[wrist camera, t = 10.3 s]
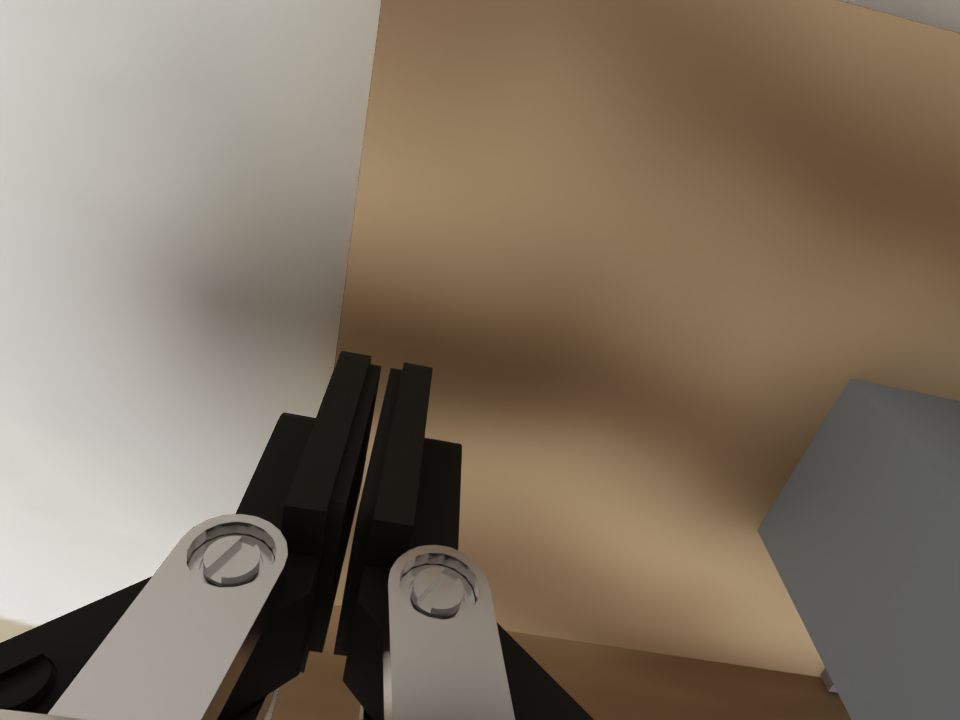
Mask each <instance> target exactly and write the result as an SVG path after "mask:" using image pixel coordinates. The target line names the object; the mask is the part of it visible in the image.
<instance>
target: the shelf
mask: <svg viewBox="0 0 960 720" xmlns="http://www.w3.org/2000/svg"><path fill="white" fill-rule="evenodd" d="M341 351H347V352H352V353H358V354H363V355H368V356H371V364H374V365H379V366H381V373H380V379H379V385H378V391H377V397H376V403H375V408H374V414H373V420H372V426H371V432H370V438H369V444H368V450H367V456H366V461H365V467H364V473H363V479H362V484H361V489H360V494H359V498H358V503H357V507H356V511H355V516H354V520H353V524H352V528H351V533H350V537H349V541H348V546H347V550H346V554H345V559H344V563H343V567H342V571H341V576H340V580H339V584H338V589H337V593H336V597H335V601H334V606H333V610H332V614H331V619H330V623H329V627H328V632H327V636H326V640H325V644H324V648H323V652H322V653H320V652H312V651H309V655H308V659H307V663H306V667H305V671H304V673H301V672H300V674H299V675H298V676H296V677H295V678H293V679H292V680H290V681H289V682H287V683H285V684H284V685H282V686H281V687H280V688H279V691H278V695H277V698H276V702H275V706H274V709H273V713H272V716H271V720H359V713H360V707H361V704H360V703H359V702H358V700H357V699H356V698H355V696H354V695H353V694H352V692H351V691H350V690H349V689H348V687H347V686H346V685H345V683H344V682H343V681H342V679H343V674H344V669H345V664H346V658H347V656H342V655H334V647H335V642H336V636H337V630H338V624H339V618H340V612H341V606H342V600H343V595H344V589H345V583H346V577H347V571H348V565H349V559H350V554H351V548H352V542H353V536H354V530H355V525H356V520H357V515H358V510H359V505H360V500H361V496H362V492H363V487H364V483H365V479H366V474H367V470H368V465H369V461H370V457H371V452H372V448H373V443H374V439H375V435H376V430H377V426H378V422H379V417H380V413H381V408H382V404H383V400H384V395H385V391H386V386H387V382H388V378H389V373H390V369H391V368H395V369H400V370H402V369H403V364H404V362H405V363H411V364H416V365H421V366H427V367H432V368H433V371H432V379H431V388H430V396H429V404H428V412H427V421H426V429H425V438H430V439H436V440H442V441H447V442H453V443H459V444H461V445H462V465H461V491H460V518H459V544H458V551H460V552H463V553H465V554H466V555H467V556H469V557H470V558H471V559H473V560H474V561H475V562H476V563H477V564H478V565H479V566H480V568H481V569H482V570H483V572H484V573H485V575H486V578H487V581H488V583H489V586H490V591H491V596H492V602H493V607H494V612H495V617H496V622H497V623H498V624H499V625H500V626H501V627H502V628H503V629H504V630H505V631H506V632H507V633H508V634H509V635H510V636H511V637H512V638H513V639H514V640H515V641H516V642H517V643H518V644H519V645H520V646H521V647H522V648H523V649H524V650H525V651H526V652H527V653H528V654H529V655H530V656H531V657H532V658H533V659H534V660H535V661H536V662H537V663H538V664H539V665H540V666H541V667H542V668H543V669H544V670H545V671H546V672H547V673H548V674H549V675H550V676H551V677H552V678H553V679H554V680H555V681H556V682H557V683H558V684H559V685H560V686H561V687H562V688H563V689H564V690H565V691H566V692H567V693H568V694H569V695H570V696H571V697H572V698H573V699H574V700H575V701H576V702H577V703H578V704H579V705H580V706H581V707H582V708H583V709H584V710H585V711H586V712H587V713H588V714H589V715H590V716H591V717H592V718H593V719H594V720H851V718H850V716H849V714H848V712H847V710H846V708H845V706H844V704H843V702H842V700H841V698H840V696H839V694H838V692H837V690H836V688H835V686H834V684H833V682H832V680H831V678H830V676H829V674H828V672H827V670H826V668H825V666H824V664H823V662H822V660H821V658H820V656H819V654H818V652H817V650H816V648H815V646H814V644H813V642H812V640H811V638H810V636H809V634H808V632H807V630H806V628H805V626H804V624H803V622H802V620H801V618H800V616H799V614H798V612H797V610H796V608H795V605H794V603H793V601H792V599H791V597H790V595H789V593H788V591H787V589H786V587H785V585H784V583H783V581H782V579H781V577H780V575H779V573H778V571H777V569H776V567H775V565H774V563H773V561H772V559H771V557H770V555H769V553H768V551H767V549H766V547H765V545H764V543H763V541H762V539H761V537H760V535H759V533H758V531H757V530H758V529H759V527H760V525H761V524H762V522H763V520H764V519H765V517H766V516H767V514H768V512H769V511H770V509H771V507H772V506H773V504H774V502H775V501H776V499H777V498H778V496H779V494H780V493H781V491H782V489H783V488H784V486H785V484H786V483H787V481H788V479H789V478H790V476H791V475H792V473H793V471H794V470H795V468H796V466H797V465H798V463H799V461H800V460H801V458H802V457H803V455H804V453H805V452H806V450H807V448H808V447H809V445H810V443H811V442H812V440H813V439H814V437H815V435H816V434H817V432H818V430H819V429H820V427H821V425H822V424H823V422H824V420H825V419H826V417H827V416H828V414H829V412H830V411H831V409H832V407H833V406H834V404H835V402H836V401H837V399H838V398H839V396H840V394H841V393H842V391H843V389H844V388H845V386H846V384H847V383H848V381H849V379H850V378H851V379H856V380H860V381H865V382H870V383H875V384H880V385H885V386H889V387H894V388H899V389H904V390H909V391H914V392H918V393H923V394H928V395H933V396H938V397H943V398H947V399H952V400H957V401H960V33H956V32H953V31H949V30H945V29H942V28H938V27H934V26H931V25H927V24H923V23H920V22H916V21H912V20H909V19H905V18H901V17H898V16H894V15H890V14H887V13H883V12H879V11H876V10H872V9H868V8H865V7H861V6H857V5H854V4H850V3H846V2H843V1H839V0H382V1H381V9H380V16H379V24H378V32H377V40H376V47H375V55H374V63H373V71H372V78H371V86H370V94H369V102H368V110H367V117H366V125H365V133H364V141H363V148H362V156H361V164H360V172H359V179H358V187H357V195H356V203H355V210H354V218H353V226H352V234H351V241H350V249H349V257H348V265H347V272H346V280H345V288H344V296H343V304H342V311H341V319H340V327H339V335H338V342H337V350H336V358H335V366H336V363H337V360H338V358H339V355H340V353H341ZM335 366H334V369H335Z"/></svg>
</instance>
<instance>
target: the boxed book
mask: <svg viewBox="0 0 960 720" xmlns="http://www.w3.org/2000/svg"><path fill="white" fill-rule="evenodd" d="M757 531H758V533H759V535H760V537H761V539H762V541H763V543H764V545H765V547H766V549H767V551H768V553H769V555H770V557H771V559H772V561H773V563H774V565H775V567H776V569H777V571H778V573H779V575H780V577H781V579H782V581H783V583H784V585H785V587H786V589H787V591H788V593H789V595H790V597H791V599H792V601H793V603H794V605H795V608H796V610H797V612H798V614H799V616H800V618H801V620H802V622H803V624H804V626H805V628H806V630H807V632H808V634H809V636H810V638H811V640H812V642H813V644H814V646H815V648H816V650H817V652H818V654H819V656H820V658H821V660H822V662H823V664H824V666H825V668H826V670H827V672H828V674H829V676H830V678H831V680H832V682H833V684H834V686H835V688H836V690H837V692H838V694H839V696H840V698H841V700H842V702H843V704H844V706H845V708H846V710H847V712H848V714H849V716H850V718H851V720H960V401H957V400H952V399H947V398H943V397H938V396H933V395H928V394H923V393H918V392H914V391H909V390H904V389H899V388H894V387H889V386H885V385H880V384H875V383H870V382H865V381H860V380H856V379H851V378H850V379H849V381H848V383H847V384H846V386H845V388H844V389H843V391H842V393H841V394H840V396H839V398H838V399H837V401H836V402H835V404H834V406H833V407H832V409H831V411H830V412H829V414H828V416H827V417H826V419H825V420H824V422H823V424H822V425H821V427H820V429H819V430H818V432H817V434H816V435H815V437H814V439H813V440H812V442H811V443H810V445H809V447H808V448H807V450H806V452H805V453H804V455H803V457H802V458H801V460H800V461H799V463H798V465H797V466H796V468H795V470H794V471H793V473H792V475H791V476H790V478H789V479H788V481H787V483H786V484H785V486H784V488H783V489H782V491H781V493H780V494H779V496H778V498H777V499H776V501H775V502H774V504H773V506H772V507H771V509H770V511H769V512H768V514H767V516H766V517H765V519H764V520H763V522H762V524H761V525H760V527H759V529H758V530H757Z"/></svg>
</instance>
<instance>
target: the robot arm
mask: <svg viewBox="0 0 960 720" xmlns="http://www.w3.org/2000/svg"><path fill="white" fill-rule="evenodd" d="M432 371H433V368H432V367H427V366H421V365H416V364H411V363H405V362H404V364H403V369H402V370H400V369H395V368H391V369H390V373H389V378H388V382H387V386H386V391H385V395H384V400H383V404H382V408H381V413H380V417H379V422H378V426H377V430H376V435H375V439H374V443H373V448H372V452H371V457H370V461H369V465H368V470H367V474H366V479H365V483H364V487H363V492H362V496H361V500H360V505H359V510H358V515H357V520H356V525H355V530H354V536H353V542H352V548H351V554H350V559H349V565H348V571H347V577H346V583H345V589H344V595H343V600H342V606H341V612H340V618H339V624H338V630H337V636H336V642H335V647H334V655H342V656H347V658H346V664H345V669H344V674H343V679H342V681H343V682H344V683H345V685H346V686H347V687H348V689H349V690H350V691H351V692H352V694H353V695H354V696H355V698H356V699H357V700H358V702H359V703H360V704H361V707H360V713H359V720H594V719H593V718H592V717H591V716H590V715H589V714H588V713H587V712H586V711H585V710H584V709H583V708H582V707H581V706H580V705H579V704H578V703H577V702H576V701H575V700H574V699H573V698H572V697H571V696H570V695H569V694H568V693H567V692H566V691H565V690H564V689H563V688H562V687H561V686H560V685H559V684H558V683H557V682H556V681H555V680H554V679H553V678H552V677H551V676H550V675H549V674H548V673H547V672H546V671H545V670H544V669H543V668H542V667H541V666H540V665H539V664H538V663H537V662H536V661H535V660H534V659H533V658H532V657H531V656H530V655H529V654H528V653H527V652H526V651H525V650H524V649H523V648H522V647H521V646H520V645H519V644H518V643H517V642H516V641H515V640H514V639H513V638H512V637H511V636H510V635H509V634H508V633H507V632H506V631H505V630H504V629H503V628H502V627H501V626H500V625H499V624H498V623H497V622H496V617H495V612H494V607H493V602H492V596H491V591H490V586H489V583H488V581H487V578H486V575H485V573H484V572H483V570H482V569H481V568H480V566H479V565H478V564H477V563H476V562H475V561H474V560H473V559H471V558H470V557H469V556H467V555H466V554H465V553H463V552H460V551H458V544H459V518H460V491H461V465H462V445H461V444H459V443H453V442H447V441H442V440H436V439H430V438H425V429H426V421H427V412H428V404H429V396H430V388H431V379H432ZM380 373H381V366H379V365H374V364H371V356H368V355H363V354H358V353H352V352H347V351H341V353H340V355H339V358H338V360H337V363H336V366H335V369H334V371H333V374H332V377H331V379H330V382H329V385H328V387H327V390H326V393H325V395H324V398H323V401H322V404H321V406H320V409H319V412H318V414H317V417H316V418H311V417H306V416H300V415H294V414H289V413H283V414H281V416H280V418H279V420H278V422H277V424H276V426H275V428H274V431H273V433H272V435H271V437H270V439H269V442H268V444H267V446H266V448H265V450H264V453H263V455H262V457H261V459H260V461H259V464H258V466H257V468H256V470H255V472H254V475H253V477H252V479H251V481H250V483H249V486H248V488H247V490H246V492H245V494H244V497H243V499H242V501H241V503H240V505H239V508H238V510H237V512H236V514H233V515H222V516H219V517H215V518H212V519H208V520H206V521H204V522H202V523H200V524H199V525H197V526H195V527H193V528H192V529H191V530H190V531H189V532H188V533H187V534H186V535H185V536H184V537H183V538H181V540H180V541H179V542H178V544H177V545H176V546H175V548H174V549H173V550H172V551H171V553H170V554H169V555H168V557H167V558H166V559H165V561H164V562H163V563H162V565H161V566H160V567H159V569H158V570H157V571H156V572H155V574H154V575H153V576H152V577H150V578H147V579H145V580H143V581H141V582H138V583H136V584H134V585H131V586H129V587H127V588H125V589H122V590H120V591H118V592H116V593H113V594H111V595H109V596H106V597H104V598H102V599H100V600H97V601H95V602H93V603H91V604H88V605H86V606H84V607H81V608H79V609H77V610H75V611H72V612H70V613H68V614H65V615H63V616H61V617H59V618H56V619H54V620H52V621H50V622H47V623H45V624H43V625H40V626H38V627H36V628H34V629H32V630H29V631H27V632H25V633H23V634H20V635H18V636H15V637H13V638H11V639H9V640H6V641H4V642H2V643H0V720H264V719H265V716H266V714H267V712H268V710H269V708H270V704H271V701H272V697H273V694H274V690H276V689H277V688H279V687H281V686H282V685H284V684H285V683H287V682H289V681H290V680H292V679H293V678H295V677H296V676H298V675H299V674H300V672H301V673H304V671H305V667H306V663H307V659H308V655H309V651H312V652H320V653H322V652H323V648H324V644H325V640H326V636H327V632H328V627H329V623H330V619H331V614H332V610H333V606H334V601H335V597H336V593H337V589H338V584H339V580H340V576H341V571H342V567H343V563H344V559H345V554H346V550H347V546H348V541H349V537H350V533H351V528H352V524H353V520H354V516H355V511H356V507H357V503H358V498H359V494H360V489H361V484H362V479H363V473H364V467H365V461H366V456H367V450H368V444H369V438H370V432H371V426H372V420H373V414H374V408H375V403H376V397H377V391H378V385H379V379H380Z"/></svg>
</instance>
